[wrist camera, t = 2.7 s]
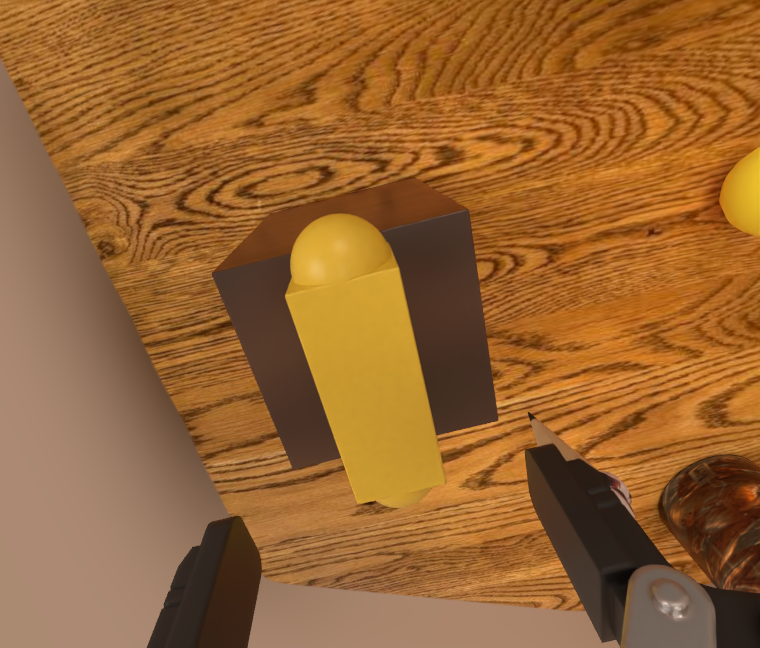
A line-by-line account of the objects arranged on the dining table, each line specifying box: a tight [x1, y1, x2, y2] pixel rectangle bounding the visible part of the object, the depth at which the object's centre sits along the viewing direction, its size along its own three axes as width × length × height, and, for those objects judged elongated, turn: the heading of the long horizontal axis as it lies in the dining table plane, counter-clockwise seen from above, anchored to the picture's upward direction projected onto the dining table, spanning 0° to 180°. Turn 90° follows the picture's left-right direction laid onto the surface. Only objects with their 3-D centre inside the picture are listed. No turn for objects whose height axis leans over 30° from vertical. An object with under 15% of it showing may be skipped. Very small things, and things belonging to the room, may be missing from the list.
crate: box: [212, 177, 498, 469], centre depth 27 cm, size 11×11×15 cm
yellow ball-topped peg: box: [285, 213, 447, 508], centre depth 18 cm, size 14×4×4 cm, turn 13°
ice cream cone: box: [528, 412, 635, 519], centre depth 34 cm, size 6×6×15 cm
